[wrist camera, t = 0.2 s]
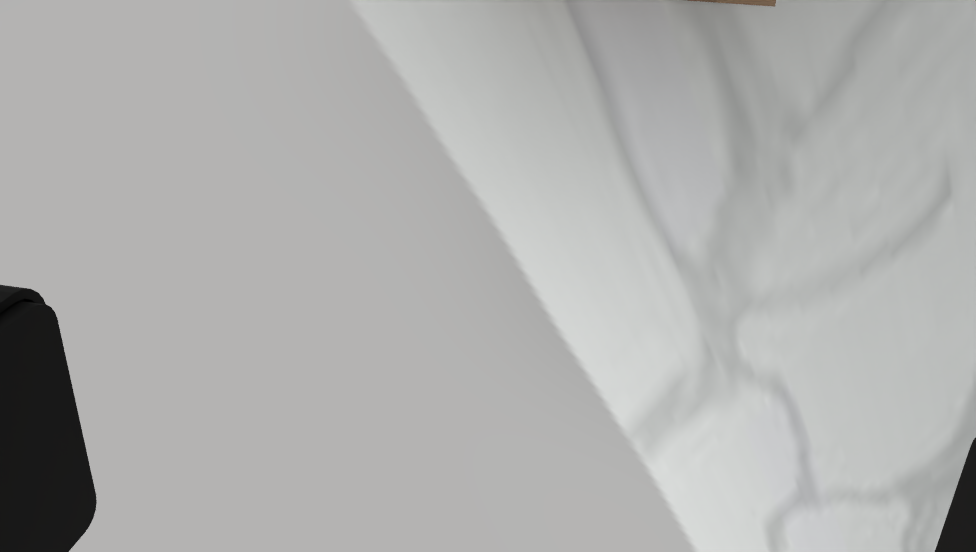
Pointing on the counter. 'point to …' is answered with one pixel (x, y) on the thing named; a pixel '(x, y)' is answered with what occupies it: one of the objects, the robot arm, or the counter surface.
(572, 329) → the counter surface
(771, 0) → the socket block
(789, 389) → the counter surface
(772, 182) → the counter surface
